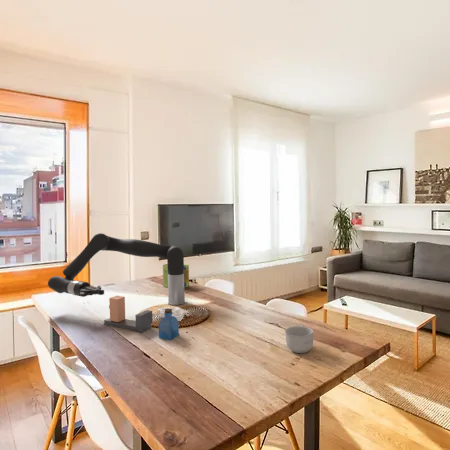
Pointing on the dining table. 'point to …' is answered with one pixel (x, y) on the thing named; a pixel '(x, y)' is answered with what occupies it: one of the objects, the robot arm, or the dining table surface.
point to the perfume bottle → (168, 326)
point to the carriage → (117, 308)
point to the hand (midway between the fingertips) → (103, 292)
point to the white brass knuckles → (173, 312)
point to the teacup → (299, 338)
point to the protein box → (186, 275)
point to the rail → (134, 322)
